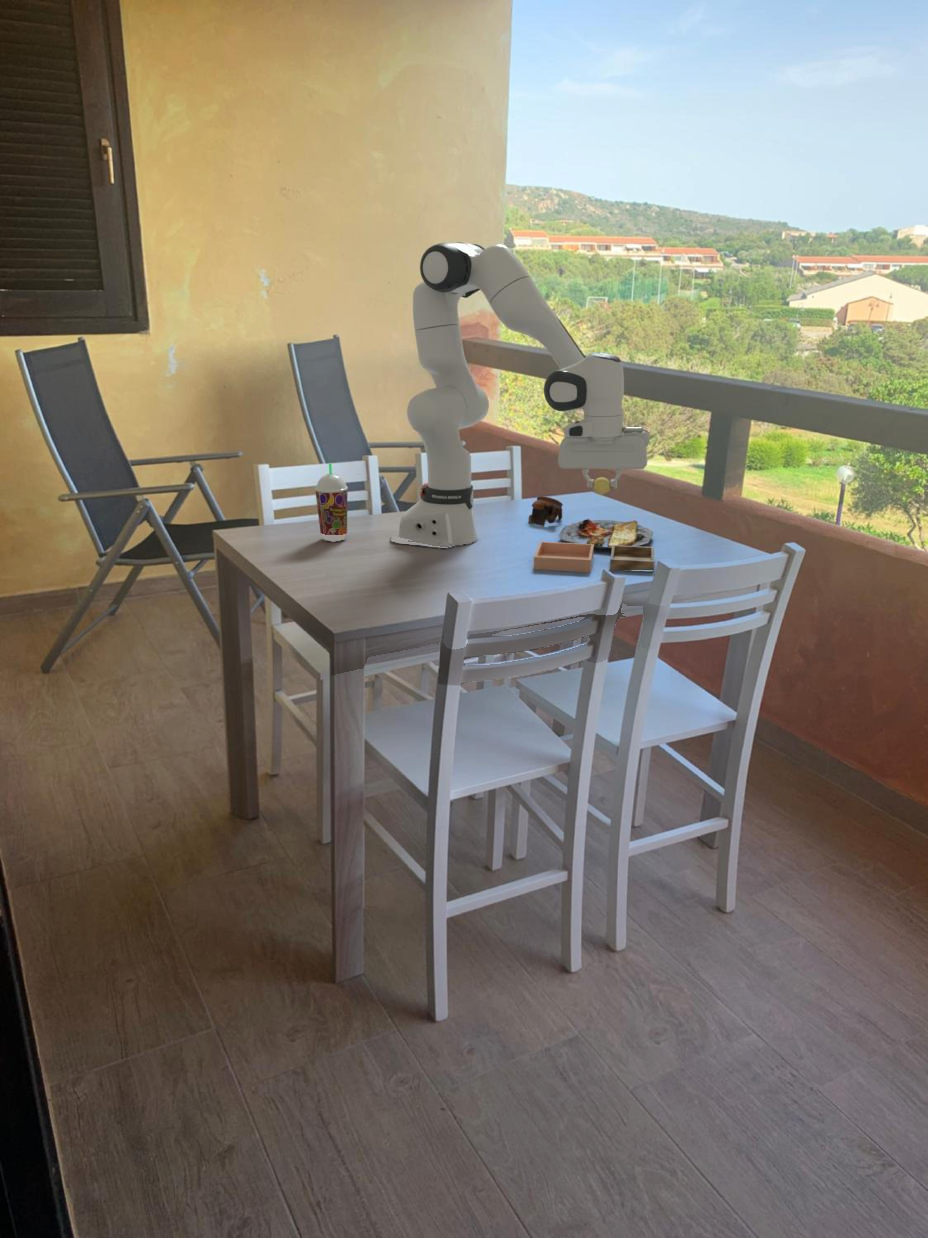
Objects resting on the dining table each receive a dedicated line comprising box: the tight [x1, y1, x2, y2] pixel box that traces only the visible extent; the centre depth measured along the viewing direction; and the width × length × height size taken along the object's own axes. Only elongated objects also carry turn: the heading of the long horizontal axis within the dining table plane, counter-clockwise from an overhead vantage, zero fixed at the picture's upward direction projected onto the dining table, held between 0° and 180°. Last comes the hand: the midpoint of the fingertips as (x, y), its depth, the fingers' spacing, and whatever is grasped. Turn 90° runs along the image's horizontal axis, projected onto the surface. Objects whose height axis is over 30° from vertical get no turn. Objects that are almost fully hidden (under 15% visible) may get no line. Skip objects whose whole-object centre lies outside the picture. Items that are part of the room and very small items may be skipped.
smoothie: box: [314, 462, 349, 535], centre depth 235 cm, size 8×8×20 cm
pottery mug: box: [528, 496, 563, 527], centre depth 253 cm, size 12×10×8 cm
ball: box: [592, 476, 611, 496], centre depth 211 cm, size 4×4×4 cm
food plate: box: [557, 518, 654, 550], centre depth 237 cm, size 25×23×4 cm
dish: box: [533, 541, 595, 573], centre depth 218 cm, size 13×13×3 cm
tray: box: [609, 545, 655, 571], centre depth 218 cm, size 10×12×3 cm
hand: (601, 487), depth 211 cm, fingers closed on ball, 4 cm apart
